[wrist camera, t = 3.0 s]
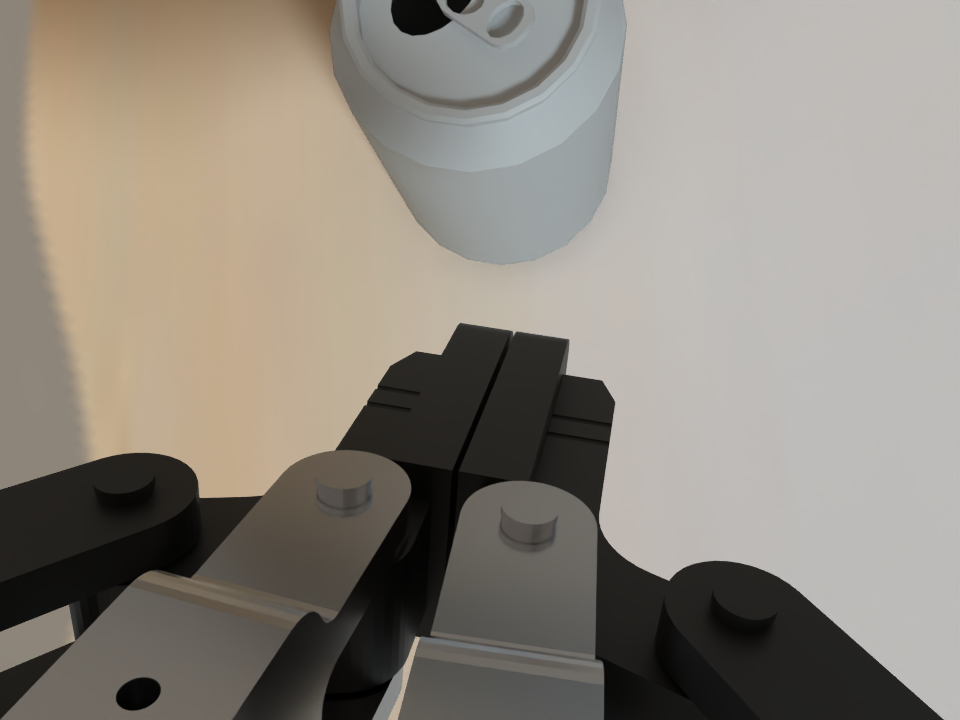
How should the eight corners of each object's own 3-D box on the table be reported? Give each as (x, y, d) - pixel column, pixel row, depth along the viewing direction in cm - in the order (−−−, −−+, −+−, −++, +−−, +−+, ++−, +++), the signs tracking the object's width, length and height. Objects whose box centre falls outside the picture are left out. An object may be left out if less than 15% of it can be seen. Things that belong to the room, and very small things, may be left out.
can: (487, 35, 33) (439, -211, 22) (652, 146, 32) (697, -51, 20) (363, 193, 33) (246, 30, 21) (526, 312, 32) (497, 210, 20)
